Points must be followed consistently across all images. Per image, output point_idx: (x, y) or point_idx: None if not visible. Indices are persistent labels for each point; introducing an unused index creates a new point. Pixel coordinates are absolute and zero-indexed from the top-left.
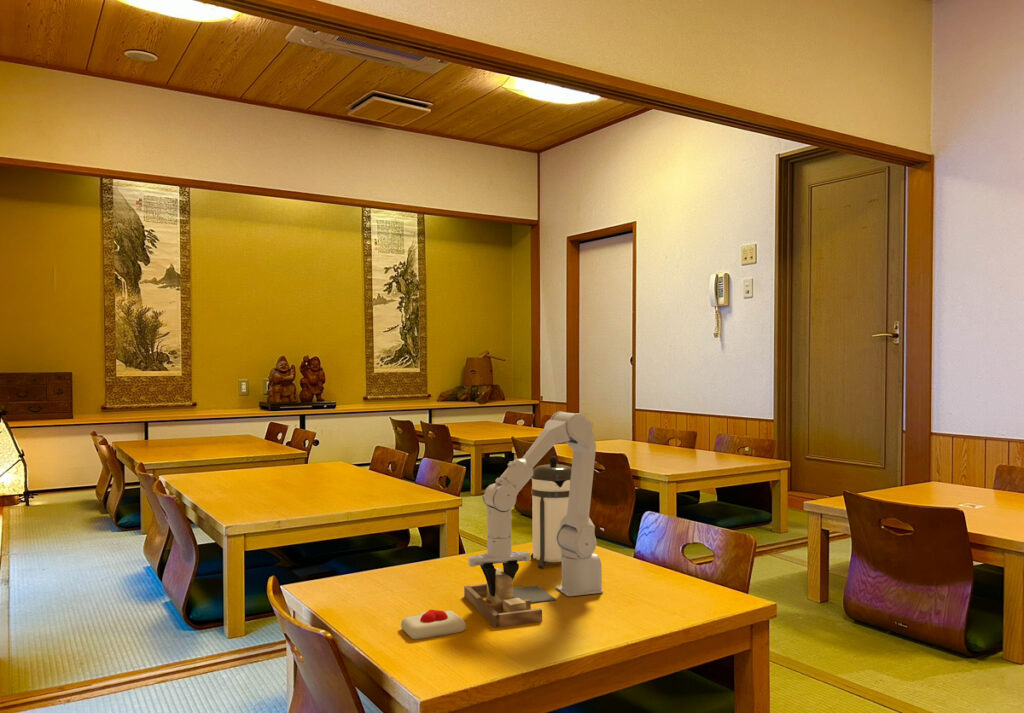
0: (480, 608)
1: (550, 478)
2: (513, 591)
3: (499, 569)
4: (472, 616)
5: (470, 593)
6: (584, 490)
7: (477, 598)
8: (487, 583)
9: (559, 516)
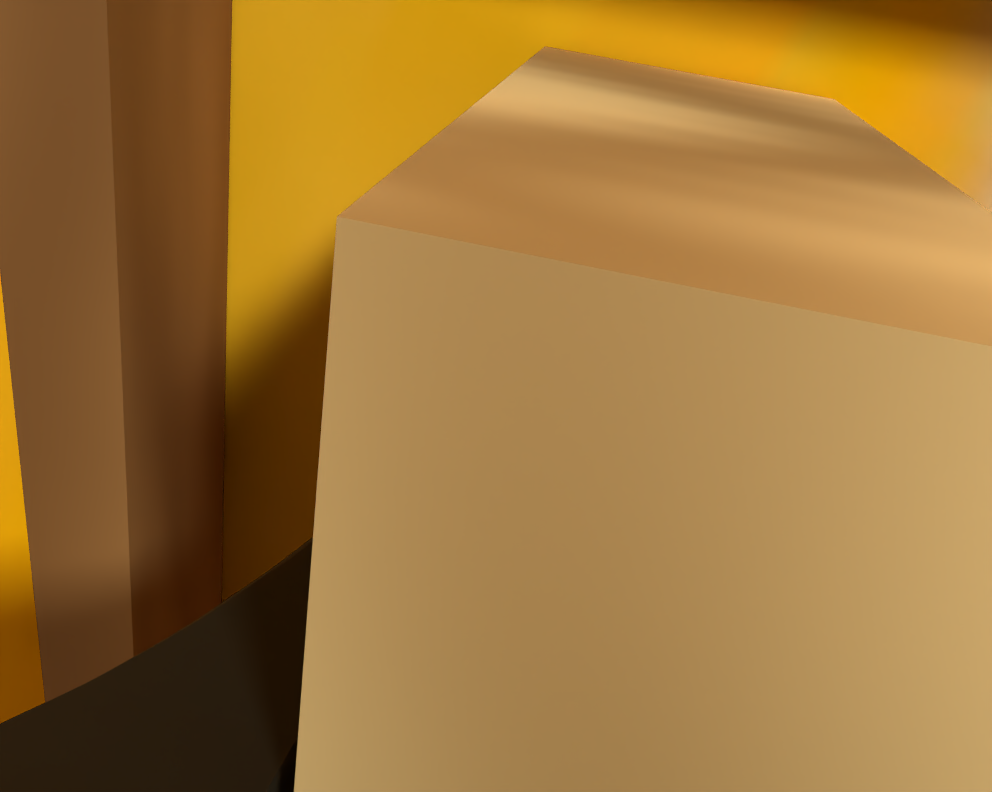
0: None
1: None
2: None
3: (979, 702)
4: (18, 673)
5: (11, 172)
6: None
7: (47, 613)
8: (267, 578)
9: None
